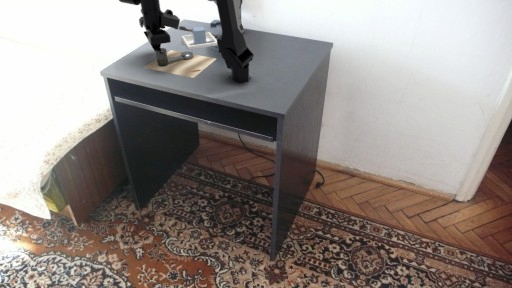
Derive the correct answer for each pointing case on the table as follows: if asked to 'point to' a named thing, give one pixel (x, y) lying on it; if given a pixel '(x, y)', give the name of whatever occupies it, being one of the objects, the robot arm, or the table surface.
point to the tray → (189, 40)
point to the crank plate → (183, 65)
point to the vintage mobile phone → (238, 13)
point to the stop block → (199, 35)
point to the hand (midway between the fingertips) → (157, 53)
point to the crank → (163, 60)
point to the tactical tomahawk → (192, 31)
